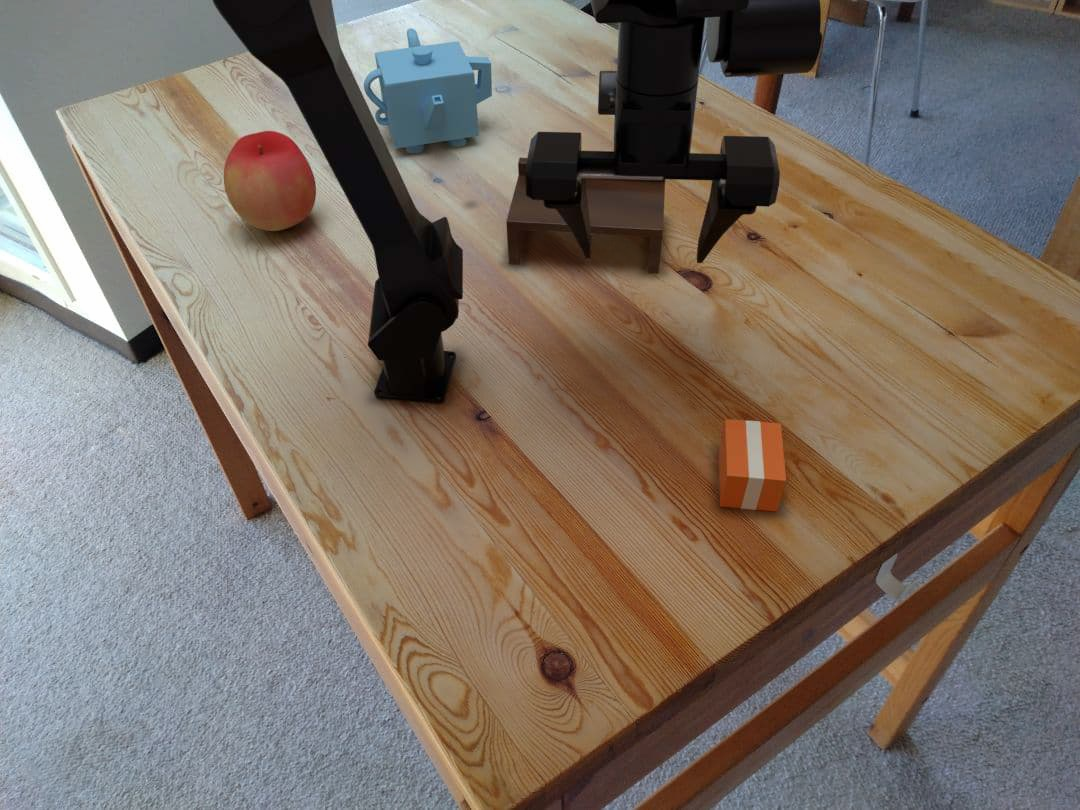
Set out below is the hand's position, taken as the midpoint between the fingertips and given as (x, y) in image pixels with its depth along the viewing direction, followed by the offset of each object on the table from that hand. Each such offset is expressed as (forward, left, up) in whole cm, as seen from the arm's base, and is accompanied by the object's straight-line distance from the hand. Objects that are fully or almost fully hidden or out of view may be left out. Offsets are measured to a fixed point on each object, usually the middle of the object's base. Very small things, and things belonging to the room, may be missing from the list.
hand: (643, 258), depth 71 cm
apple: (+19, +41, -13) cm, 47 cm away
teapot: (+41, +28, -13) cm, 51 cm away
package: (-13, -10, -12) cm, 20 cm away
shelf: (+19, +6, -12) cm, 24 cm away
